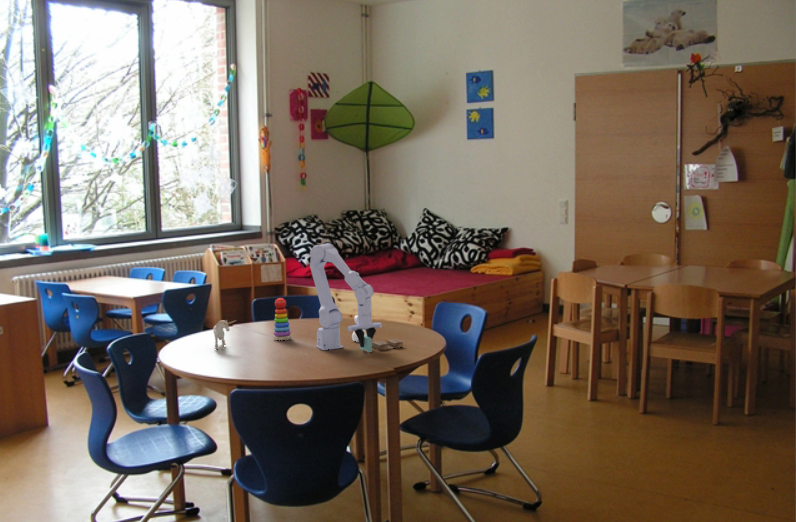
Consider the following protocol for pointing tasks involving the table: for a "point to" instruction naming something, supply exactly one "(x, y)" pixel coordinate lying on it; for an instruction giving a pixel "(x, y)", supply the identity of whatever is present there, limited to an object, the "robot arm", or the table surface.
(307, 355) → the table surface
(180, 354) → the table surface
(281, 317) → the stacking toy
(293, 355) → the table surface
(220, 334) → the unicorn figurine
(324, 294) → the robot arm
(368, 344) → the teal rectangular block
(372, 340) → the sitting furry creature
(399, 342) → the slot block
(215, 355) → the table surface
